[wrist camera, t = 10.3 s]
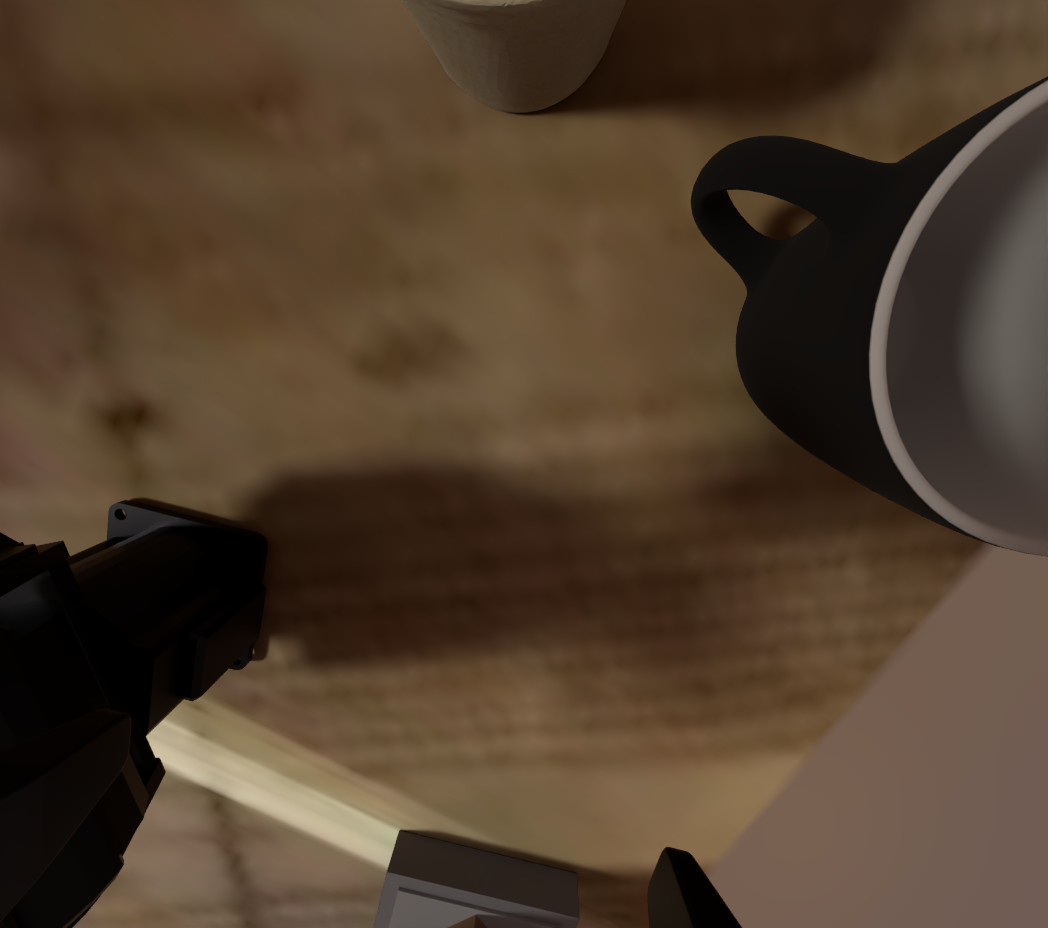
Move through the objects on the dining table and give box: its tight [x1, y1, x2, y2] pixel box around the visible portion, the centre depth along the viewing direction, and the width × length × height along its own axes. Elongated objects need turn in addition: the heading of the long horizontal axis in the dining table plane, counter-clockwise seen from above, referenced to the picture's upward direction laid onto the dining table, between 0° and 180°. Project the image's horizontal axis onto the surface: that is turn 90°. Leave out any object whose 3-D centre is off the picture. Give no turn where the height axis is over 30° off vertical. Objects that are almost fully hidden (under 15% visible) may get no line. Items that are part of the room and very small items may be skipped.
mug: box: [691, 77, 1048, 556], centre depth 14 cm, size 12×9×10 cm
